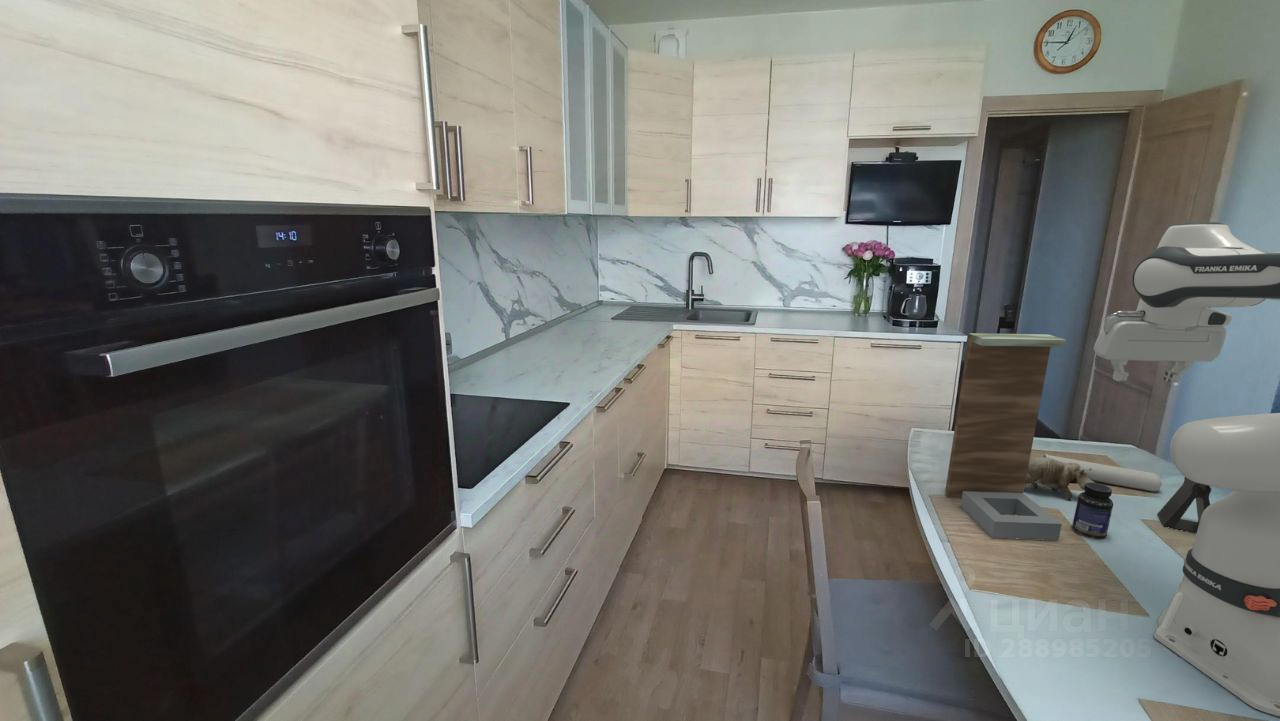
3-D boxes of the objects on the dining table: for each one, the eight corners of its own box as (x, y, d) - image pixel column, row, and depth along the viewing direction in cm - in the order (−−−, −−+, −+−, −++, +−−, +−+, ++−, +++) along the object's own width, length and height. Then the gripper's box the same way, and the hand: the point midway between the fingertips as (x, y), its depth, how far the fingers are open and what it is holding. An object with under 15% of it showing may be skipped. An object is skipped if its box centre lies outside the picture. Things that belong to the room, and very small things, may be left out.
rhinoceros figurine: (1006, 467, 152) (1054, 434, 143) (1051, 505, 148) (1103, 473, 139) (1003, 480, 146) (1053, 446, 137) (1049, 520, 142) (1104, 488, 133)
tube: (1159, 472, 147) (1043, 453, 158) (1167, 474, 142) (1047, 454, 153) (1156, 493, 147) (1040, 472, 158) (1164, 495, 142) (1044, 473, 153)
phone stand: (1208, 525, 129) (1222, 477, 126) (1217, 538, 124) (1231, 488, 121) (1156, 515, 133) (1168, 468, 130) (1163, 526, 128) (1175, 478, 125)
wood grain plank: (1033, 508, 136) (1065, 339, 126) (956, 506, 137) (982, 338, 127) (1018, 496, 142) (1048, 334, 131) (944, 494, 143) (969, 333, 132)
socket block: (1058, 540, 122) (1061, 523, 121) (991, 538, 123) (994, 521, 122) (1020, 508, 136) (1023, 493, 135) (960, 506, 137) (962, 491, 136)
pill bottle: (1112, 541, 122) (1123, 494, 120) (1080, 538, 123) (1090, 492, 121) (1096, 526, 128) (1106, 482, 125) (1066, 523, 129) (1075, 479, 127)
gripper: (1122, 315, 101) (1099, 386, 106) (1242, 316, 100) (1214, 388, 105) (1097, 306, 107) (1077, 373, 112) (1210, 307, 106) (1185, 375, 111)
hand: (1144, 380), depth 108 cm, fingers open, 8 cm apart
